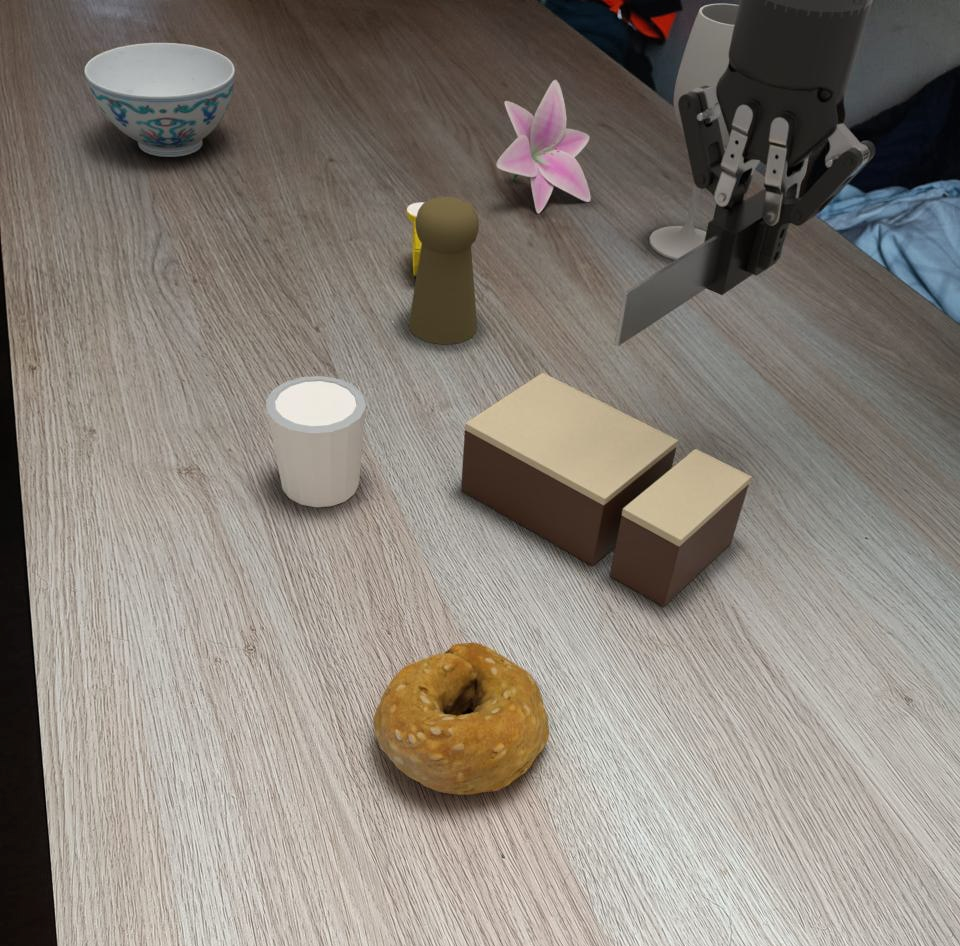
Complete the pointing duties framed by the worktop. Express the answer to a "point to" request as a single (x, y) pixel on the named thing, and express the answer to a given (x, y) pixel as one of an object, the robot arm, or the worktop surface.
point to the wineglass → (697, 69)
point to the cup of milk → (317, 438)
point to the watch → (414, 234)
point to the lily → (546, 149)
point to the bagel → (462, 720)
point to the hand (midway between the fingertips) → (740, 262)
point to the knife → (695, 269)
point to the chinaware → (162, 93)
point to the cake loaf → (562, 464)
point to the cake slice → (678, 526)
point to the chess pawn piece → (445, 272)
